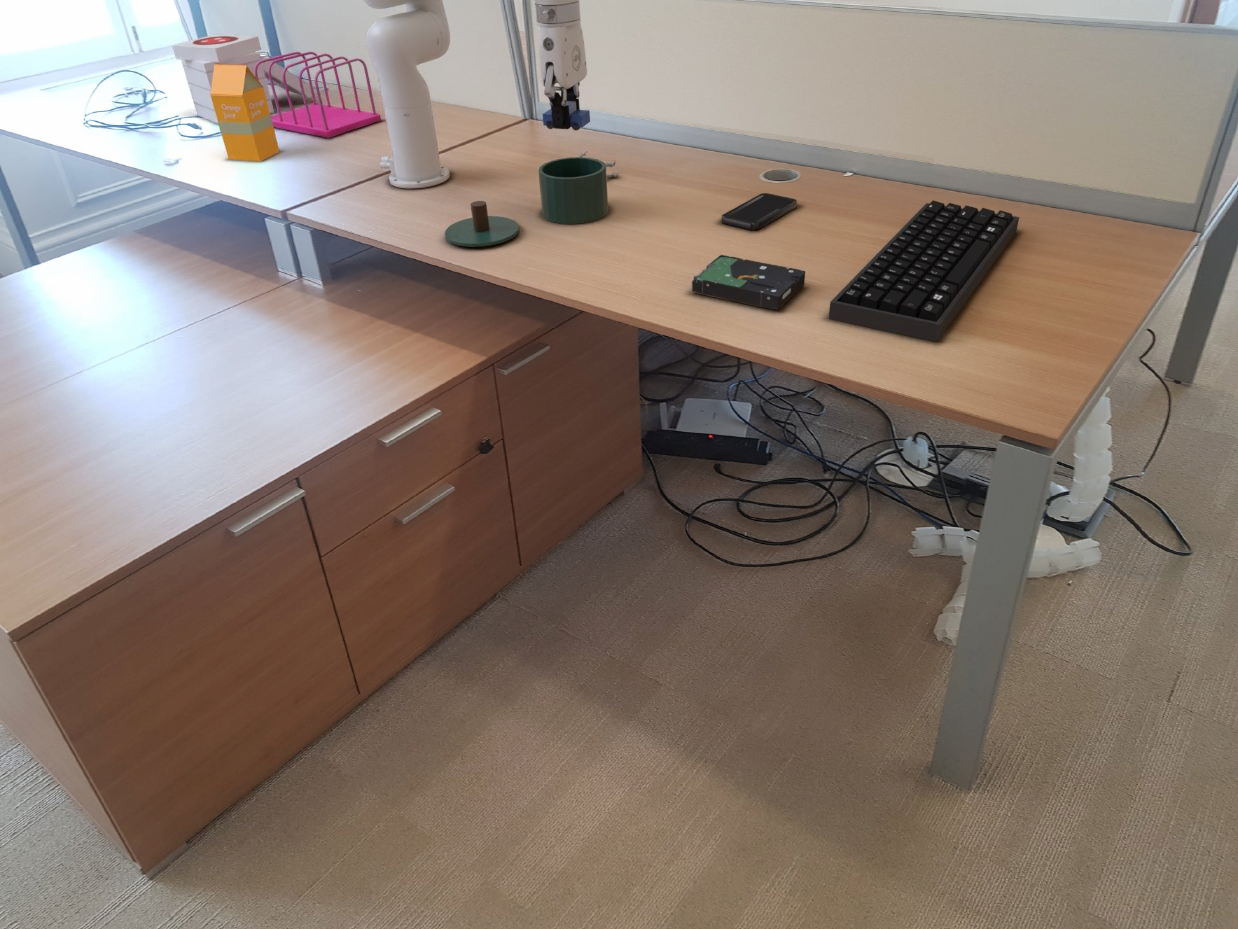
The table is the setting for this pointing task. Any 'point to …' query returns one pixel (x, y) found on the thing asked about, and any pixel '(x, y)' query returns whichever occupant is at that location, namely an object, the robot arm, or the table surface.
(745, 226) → the phone
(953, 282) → the computer keyboard
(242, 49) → the pizza boxes
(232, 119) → the orange juice
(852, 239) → the table surface
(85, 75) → the table surface
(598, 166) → the tin
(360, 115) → the file sorter
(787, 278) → the disk drive
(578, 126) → the toy car
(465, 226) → the lid
